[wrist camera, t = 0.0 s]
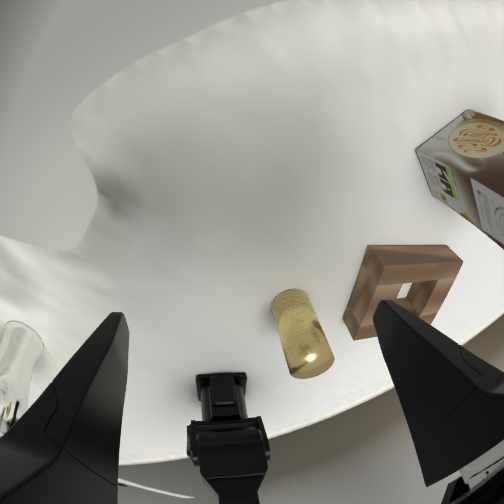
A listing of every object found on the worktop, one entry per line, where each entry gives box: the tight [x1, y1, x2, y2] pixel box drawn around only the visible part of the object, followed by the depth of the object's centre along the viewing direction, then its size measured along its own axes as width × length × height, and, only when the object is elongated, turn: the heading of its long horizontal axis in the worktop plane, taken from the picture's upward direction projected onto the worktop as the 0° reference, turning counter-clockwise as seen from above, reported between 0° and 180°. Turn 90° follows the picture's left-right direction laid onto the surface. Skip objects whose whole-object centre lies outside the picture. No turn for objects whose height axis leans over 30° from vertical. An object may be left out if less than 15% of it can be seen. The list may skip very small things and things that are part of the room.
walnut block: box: [343, 245, 463, 340], centre depth 30 cm, size 10×12×4 cm
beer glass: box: [0, 321, 43, 437], centre depth 21 cm, size 7×7×15 cm
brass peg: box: [271, 289, 334, 379], centre depth 27 cm, size 4×4×8 cm
